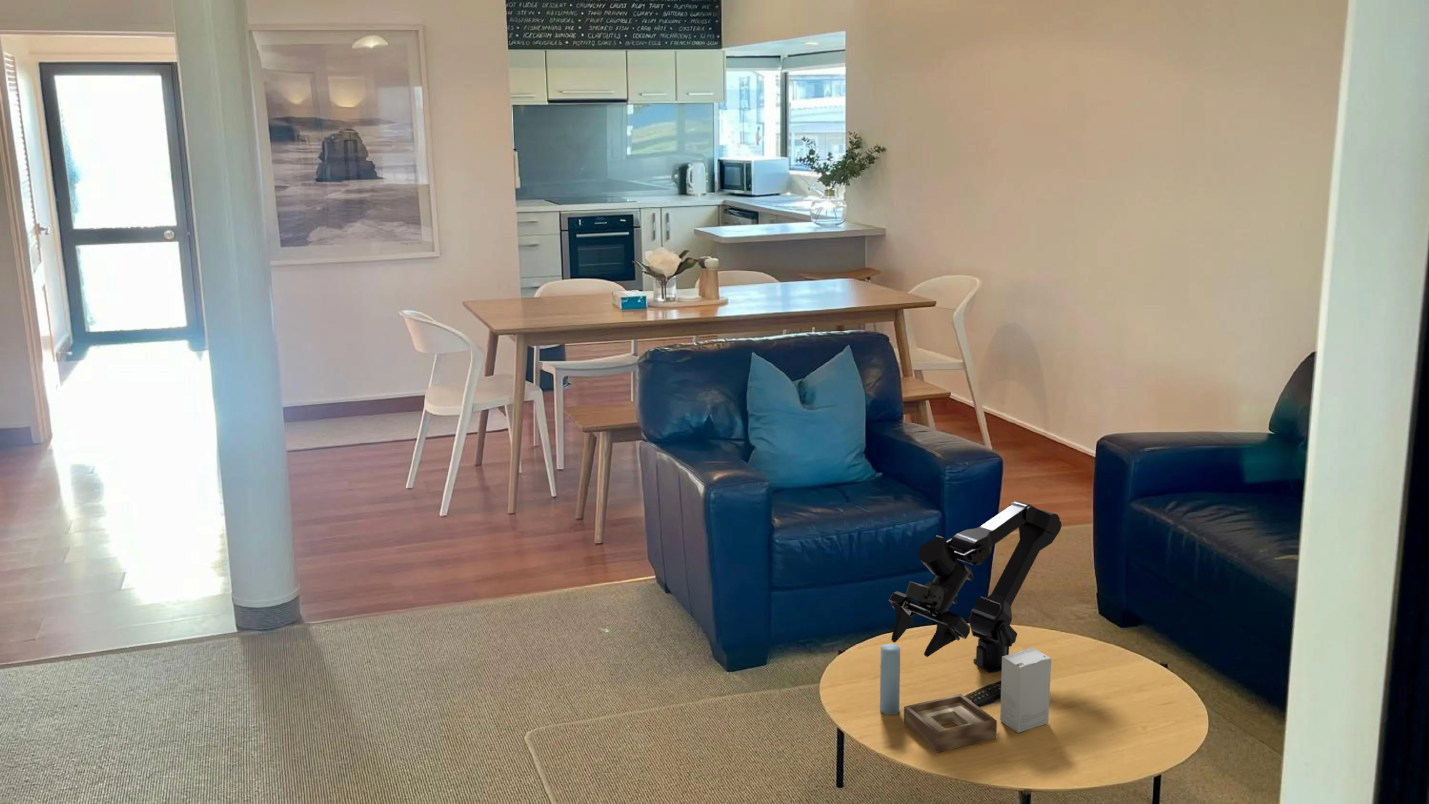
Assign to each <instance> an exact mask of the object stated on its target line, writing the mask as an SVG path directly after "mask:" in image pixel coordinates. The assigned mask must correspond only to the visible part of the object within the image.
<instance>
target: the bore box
mask: <svg viewBox="0 0 1429 804" xmlns="http://www.w3.org/2000/svg"><path fill="white" fill-rule="evenodd" d="M949 723H955V724H956V725H957V726H952V727H947V728H945V727H943V726H942V725H946V724H949ZM903 724H904V725H905V726H906V727H907V728H908V729H909V730H910V731H912V732H913V733H914V734H915V735H917V736H918V737H919V738H920V739H921V740H922V741H923V742H925V744H927V745H928V746H929V747H931V748H932V749H933V750H934V751H935V752H937V753H941V752H944V751H949V750H954V749H957V748H961V747H966V746H970V745H974V744H978V743H981V742H985V741H990V740H995V739H997V727H998V721H997V719H995V718H994V717H993V716H991V715H990V714H988V713H987V712H986V711H985V710H983V709H982V708H981V707H979V706H978V705H977V704H976V703H974V702H972V701H971V700H970V699H969V698H968V697H967V696H965V695H963V694H962V693H959V694H954V695H950V696H945V697H940V698H935V699H930V700H927V701H922V702H917V703H914V704H910V705H909V704H908V705H906V706H905V705H904V706H903Z"/></svg>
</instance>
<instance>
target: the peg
mask: <svg viewBox="0 0 1429 804" xmlns="http://www.w3.org/2000/svg"><path fill="white" fill-rule="evenodd" d="M879 666H880V669H879V670H880V675H879V676H880V678H879V679H880V681H879V684H880V686H879V688H880V689H879V691H880V692H879V711H880V713H882V714H884V715H888V716H889V715H893V716H894V715H897V714H898V713H899V712H900V694H901V693H900V691H901V690H900V686H901V685H900V684H901V683H900V681H901V679H900V678H901V647H900V646H899V645H897V644H894V643H886V644H882V645H881V646H880V665H879Z"/></svg>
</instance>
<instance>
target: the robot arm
mask: <svg viewBox="0 0 1429 804" xmlns="http://www.w3.org/2000/svg"><path fill="white" fill-rule="evenodd" d="M1017 529H1018V534H1019V535H1018V536H1019V537H1018V538H1019V540H1018V542H1017V544H1016V546H1015V549H1014V550H1013V552H1012V554H1011V556H1010V558H1009V560H1008V561H1007V563H1006V565H1005V567H1004V569H1003V571H1002V572H1001V575H1000V576H999V578H998V579H997V582H996V584H995V586H994V588H993V589H992V592H991V593H990V594H989V595H988V596H987V597H983V596H979V597H978V598H977V600H976V602H975V605H974V606H973V608H972V609H971V610H970V615H969V617H968V622H967V621H966V620H965V619H964V618H963V617H962V616H961V615H959V614H956V613H954V612H952V611H949V608H950V607H951V606H952V604H954V605H957V603H958V601H959V600H958V598H957V596H958V594H959V592H960V590H961V588H962V587H963V585H964V584H965V582H966V580H968V581H971V582H972V581H974V575H973V569H972V567H969V566H967V565H965V564H964V563H967V564H970V565H971V566H972V565H973V566H979V565H981V564H982V563H984V561H985V560H987V558H988V557H990V556H991V553H992V550H993V547H994V546H995V545H996V544H998V543H999V542H1001V541H1002V540H1003V539H1005V538H1006V537H1007V536H1009V535H1010V534H1011V533H1013V532H1015V530H1017ZM1061 530H1062V522H1061V519H1060V516H1059V515H1058V514H1057V513H1054V512H1051V511H1048V510H1044V509H1041V508H1036V507H1035V506H1033V505H1032V504H1030V503H1027V502H1023V501H1019V500H1015V501H1014V500H1013V501H1012V502H1010V504H1009V505H1008V507H1007V508H1005V509H1003V510H1002V511H1000V512H999V513H998V514H996V515H995V516H994V517H991V518H990V519H989V520H987V521H986V522H985V523H983V524H982V525H981V526H978V527H976V528H969V529H965V530H963V531H960V532H957V533H956V534H955V535H953V536H952V538H949V539H948V540H947V539H946V538H945V537H943V536H940V535H936V536H935V537H934V539H930V540H928V541H926V542H924V543H923V544H921V546H920V547H919V549H918V552H917V553H918V554H917V555H918V559H919V560H920V561H921V563H923V565H924V566H925V567H926V568H927V569H928V570H929V571H930V572H931V573H932V575H934V576H935V577H934V578H933V580H932V581H931V580H928V581H927V582H926V583H925V585H923V584H920V583H916V582H915V581H914V582H913V581H911V580H910V581H909V582H908V586H907V589H906V593H902V592H900V591H898V590H897V591H895V592H892V594H891V595H890V597H889V599H888V602H890V603H891V607H892V608H893V609H894V614H895V616H894V618H895V619H894V623H893V624H894V625H893V630H892V635H891V639H890V640H891V641H892V642H893V644H894V643H896V642H897V641H899V639H900V638H901V637H902V636H903V635H904V633H905V632H906V631H907V630H908V628H909V627H910V626H911V624H913V622H914V621H915V619H914V618H913V617H915V616H917V615H919V616H921V617H924V618H927V619H929V620H931V621H934V622H936V629H935V633H934V634H933V636H932V638H931V639H930V641H929V643H927V644H928V645H927V646H926V649H925V651H924V653H923V655H924V656H925V657H926V658H928V657H930V656H932V655H933V654H934V653H936V652H937V651H939V650H941V649H942V648H943V647H945V646H948V645H949V644H951V643H953V642H954V641H960V640H961V639H964V640H967V638H968V636H969V635H970V633H971V634H972V635H971V636H972V637H976V638H977V640H978V641H977V646H976V647H975V648H976V653H975V655H976V656H975V658H973V663H975V664H976V665H978V666H979V667H980V668H982V669H983V670H985V671H987V672H988V673H995V672H998V671H1002V656H1006V655H1009V654H1010V648H1011V647H1012V646H1013V644H1015V643H1016V640H1017V637H1018V632H1017V631H1016V630H1015V629H1014V627H1012V626H1011V623H1012V621H1013V615H1012V614H1013V613H1012V605H1013V603H1014V601H1015V599H1016V598H1017V595H1018V593H1019V591H1020V590H1021V587H1022V585H1023V583H1024V582H1025V580H1026V578H1027V576H1028V575H1029V572H1030V570H1031V568H1032V566H1033V564H1034V562H1035V561H1036V559H1037V556H1038V554H1039V553H1040V551H1042V550H1043V549H1044V548H1046V547H1048V546H1050V545H1052V543H1053V542H1054V540H1055V539H1056V537H1057V536H1058V535H1059V533H1060V531H1061ZM913 598H914V599H913ZM917 603H918V604H917ZM968 623H969V624H968Z"/></svg>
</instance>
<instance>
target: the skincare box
mask: <svg viewBox="0 0 1429 804" xmlns="http://www.w3.org/2000/svg"><path fill="white" fill-rule="evenodd" d="M1051 670H1052V658H1051V657H1050V656H1048V655H1046V654H1045V653H1042V652H1041V651H1039V650H1038V649H1036V648H1035V647H1028V648H1026V649H1022V650H1020V651H1016V652H1012V653H1009V655H1006V656H1002V670H1001V678H1000V679H1001V683H1000V712H999V713H1000V716H999V720H1000V721H1001V722H1002V723H1003V724H1004V725H1006V726H1008V727H1009V728H1010V729H1012V730H1013V731H1014V732H1016V733H1021V732H1025V731H1027V730H1031V729H1034V728H1037V727H1041V726H1044V725H1046V724H1049V719H1050V718H1049V717H1050V693H1051V692H1050V690H1051Z"/></svg>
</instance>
